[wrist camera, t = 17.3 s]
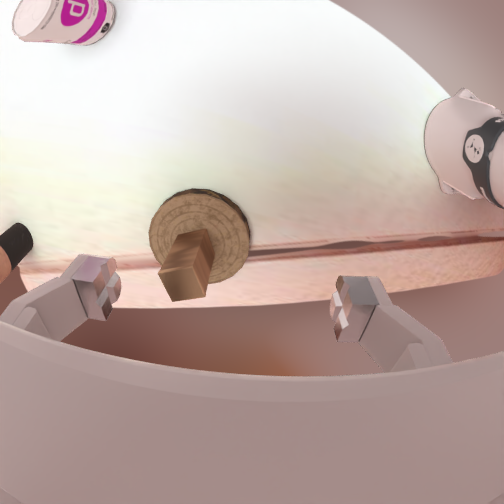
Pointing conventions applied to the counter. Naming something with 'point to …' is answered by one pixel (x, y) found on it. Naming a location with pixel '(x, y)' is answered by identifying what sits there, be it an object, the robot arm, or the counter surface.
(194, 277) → the walnut block
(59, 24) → the supplement can
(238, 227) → the wood slice
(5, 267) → the travel mug
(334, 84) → the counter surface
